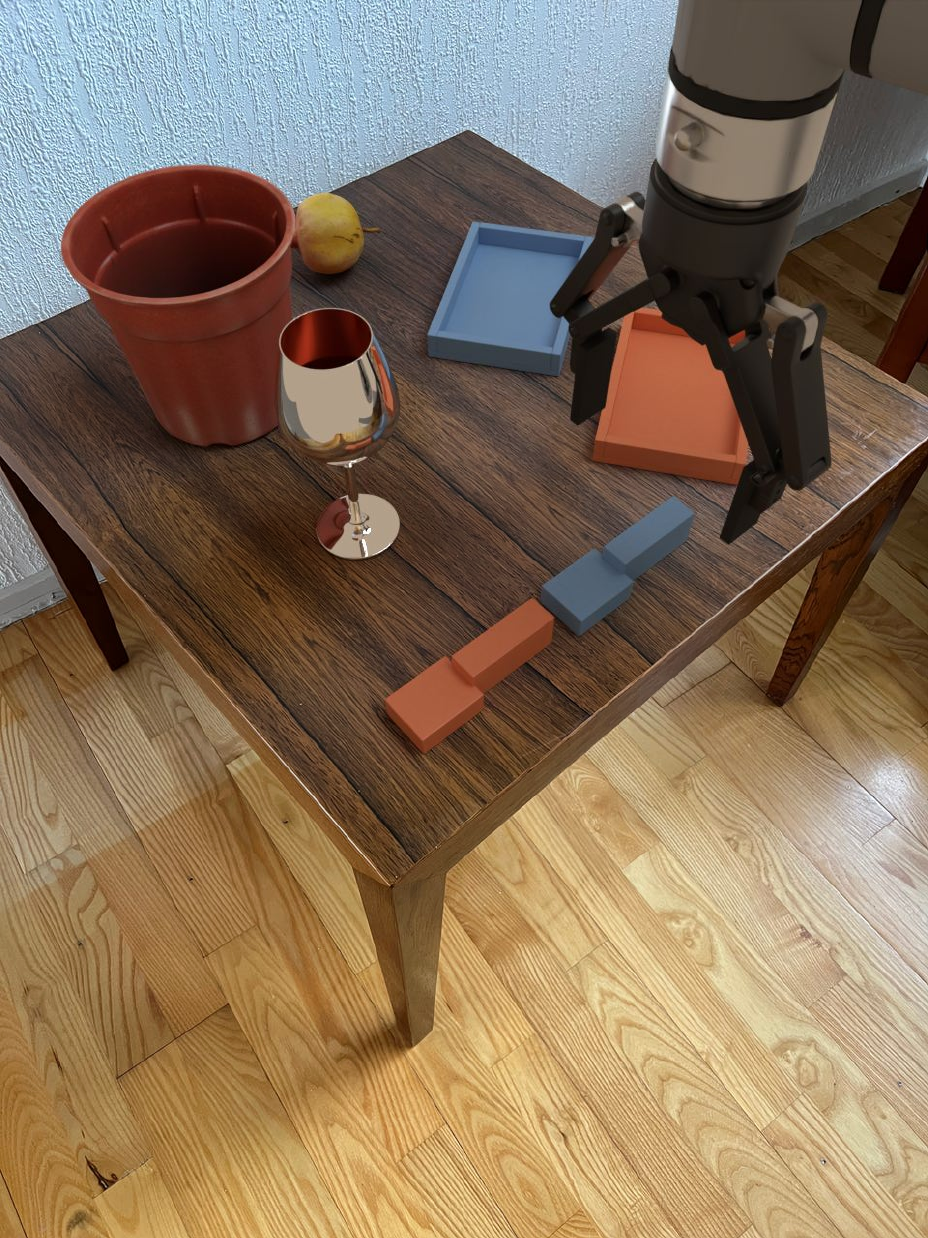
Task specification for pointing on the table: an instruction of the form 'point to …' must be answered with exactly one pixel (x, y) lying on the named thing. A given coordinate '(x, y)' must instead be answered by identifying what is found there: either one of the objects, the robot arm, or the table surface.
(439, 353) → the blue tray
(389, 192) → the table surface
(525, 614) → the red offset step block
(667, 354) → the red tray
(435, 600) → the table surface
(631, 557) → the blue stepped block
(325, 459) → the wineglass
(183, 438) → the flower pot
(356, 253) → the fruit
